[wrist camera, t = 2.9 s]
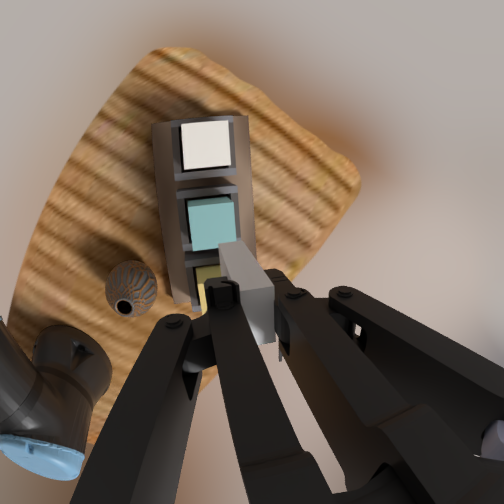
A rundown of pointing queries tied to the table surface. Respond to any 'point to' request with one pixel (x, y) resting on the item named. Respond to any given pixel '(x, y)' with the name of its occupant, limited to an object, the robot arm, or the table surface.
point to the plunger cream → (206, 144)
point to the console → (199, 187)
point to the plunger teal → (211, 222)
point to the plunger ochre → (202, 275)
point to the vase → (131, 288)
